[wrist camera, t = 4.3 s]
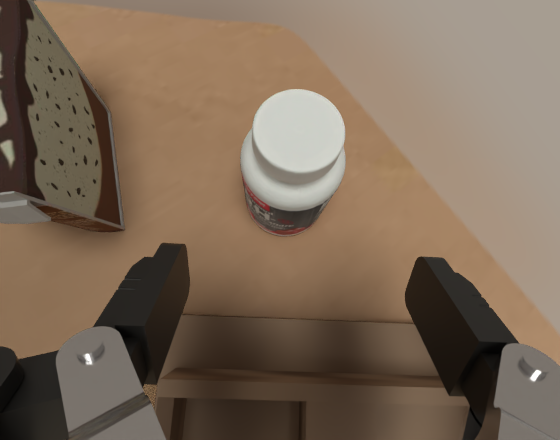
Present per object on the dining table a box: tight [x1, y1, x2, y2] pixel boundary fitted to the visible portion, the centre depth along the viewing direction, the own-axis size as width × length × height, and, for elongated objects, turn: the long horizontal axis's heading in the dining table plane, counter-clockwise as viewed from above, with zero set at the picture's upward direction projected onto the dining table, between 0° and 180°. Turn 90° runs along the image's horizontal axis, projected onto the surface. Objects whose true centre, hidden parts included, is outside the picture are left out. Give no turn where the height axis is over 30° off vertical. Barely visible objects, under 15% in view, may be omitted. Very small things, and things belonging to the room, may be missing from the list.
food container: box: [0, 0, 125, 232], centre depth 18 cm, size 12×6×10 cm, turn 13°
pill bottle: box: [240, 89, 346, 236], centre depth 18 cm, size 5×5×10 cm
